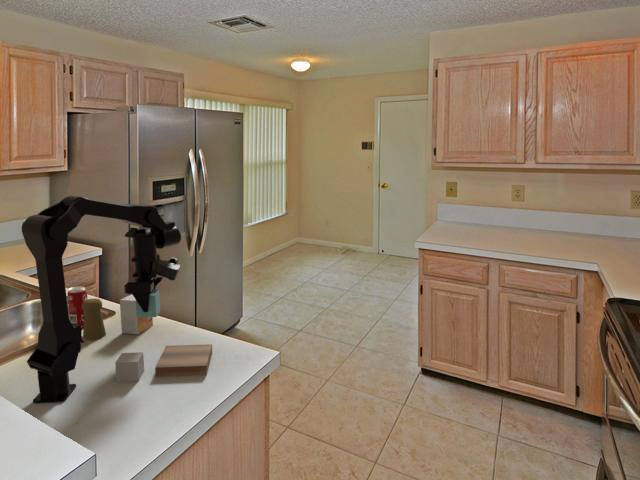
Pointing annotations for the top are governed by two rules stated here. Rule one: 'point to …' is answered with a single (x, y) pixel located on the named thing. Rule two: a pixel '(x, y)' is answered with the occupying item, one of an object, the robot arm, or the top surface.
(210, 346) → the walnut block
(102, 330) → the cork
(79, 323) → the soda can
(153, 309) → the teal block
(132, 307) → the small box
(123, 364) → the grey block
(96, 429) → the top surface
